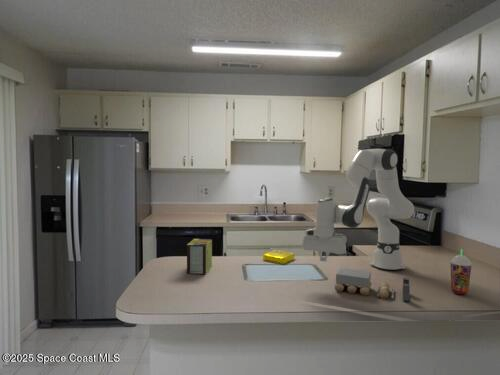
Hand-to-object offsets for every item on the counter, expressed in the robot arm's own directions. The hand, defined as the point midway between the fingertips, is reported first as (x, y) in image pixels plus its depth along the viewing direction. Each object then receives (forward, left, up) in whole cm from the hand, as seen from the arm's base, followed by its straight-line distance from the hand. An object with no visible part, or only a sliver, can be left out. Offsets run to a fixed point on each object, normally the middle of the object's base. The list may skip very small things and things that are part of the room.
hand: (323, 260), depth 168 cm
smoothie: (-18, +59, -12) cm, 63 cm away
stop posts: (0, +36, -12) cm, 38 cm away
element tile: (-35, -34, -13) cm, 50 cm away
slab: (0, +14, -8) cm, 16 cm away
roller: (0, +28, -12) cm, 31 cm away
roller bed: (0, +14, -12) cm, 18 cm away
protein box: (+4, -66, -12) cm, 67 cm away
